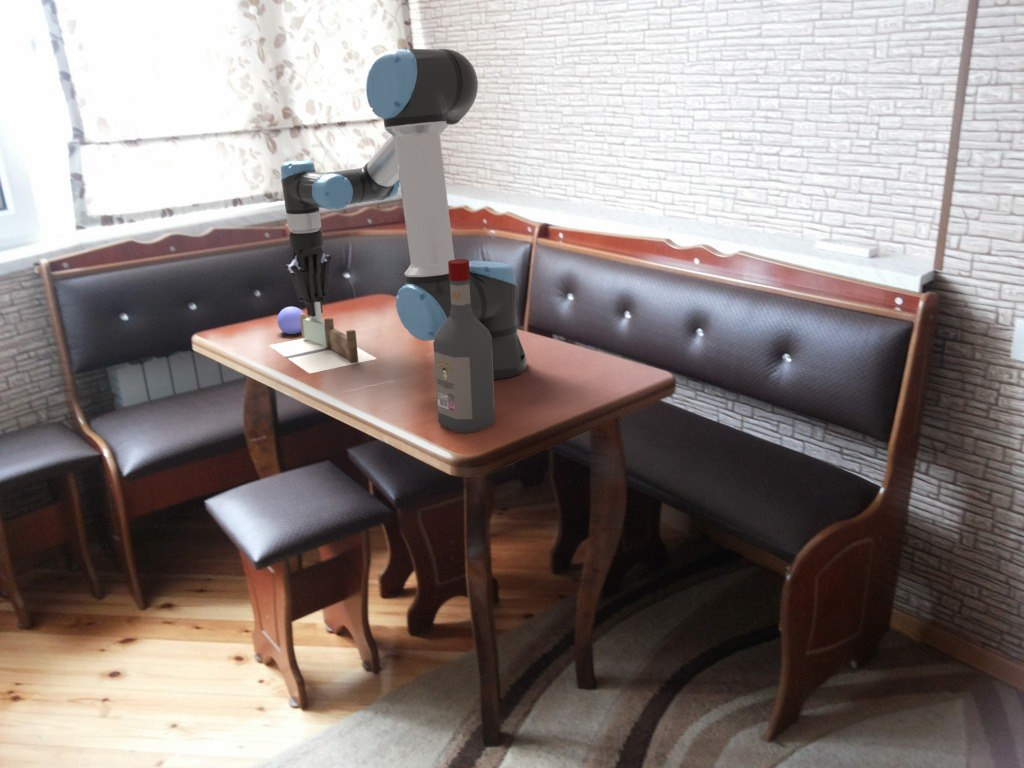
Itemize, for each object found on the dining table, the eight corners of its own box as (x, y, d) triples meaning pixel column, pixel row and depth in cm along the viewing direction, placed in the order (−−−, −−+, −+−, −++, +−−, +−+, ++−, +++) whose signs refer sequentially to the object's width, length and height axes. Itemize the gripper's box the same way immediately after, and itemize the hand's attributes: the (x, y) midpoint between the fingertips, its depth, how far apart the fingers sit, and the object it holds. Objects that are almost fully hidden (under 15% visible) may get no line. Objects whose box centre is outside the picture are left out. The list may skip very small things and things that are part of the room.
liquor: (465, 437, 153) (456, 269, 143) (431, 424, 159) (420, 262, 149) (502, 422, 159) (496, 260, 149) (468, 410, 165) (460, 253, 155)
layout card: (377, 360, 195) (377, 358, 195) (309, 375, 187) (309, 373, 187) (331, 334, 216) (331, 332, 216) (268, 346, 208) (268, 344, 207)
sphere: (311, 330, 220) (308, 303, 218) (302, 338, 214) (299, 310, 211) (284, 330, 221) (281, 303, 218) (274, 338, 214) (271, 310, 212)
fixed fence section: (359, 361, 194) (356, 331, 191) (351, 363, 192) (348, 333, 190) (334, 346, 205) (331, 317, 203) (326, 348, 204) (322, 319, 201)
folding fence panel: (331, 344, 205) (328, 319, 203) (325, 346, 204) (323, 321, 202) (306, 336, 212) (303, 312, 210) (301, 337, 211) (298, 314, 209)
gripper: (312, 224, 208) (324, 319, 216) (272, 234, 197) (286, 333, 206) (336, 226, 204) (347, 323, 212) (296, 236, 194) (309, 337, 202)
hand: (316, 328), depth 209 cm, fingers closed
